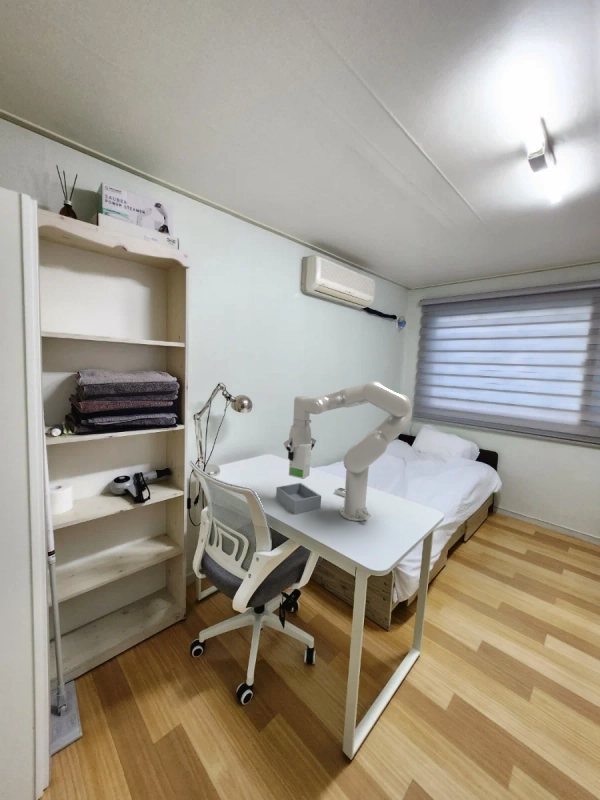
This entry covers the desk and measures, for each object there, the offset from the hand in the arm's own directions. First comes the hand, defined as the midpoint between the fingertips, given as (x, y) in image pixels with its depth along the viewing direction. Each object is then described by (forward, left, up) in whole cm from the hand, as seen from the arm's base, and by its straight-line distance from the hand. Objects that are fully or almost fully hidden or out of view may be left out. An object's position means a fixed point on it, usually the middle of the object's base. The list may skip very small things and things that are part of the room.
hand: (299, 458), depth 144 cm
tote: (0, 0, -22) cm, 22 cm away
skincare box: (0, 0, -8) cm, 8 cm away
